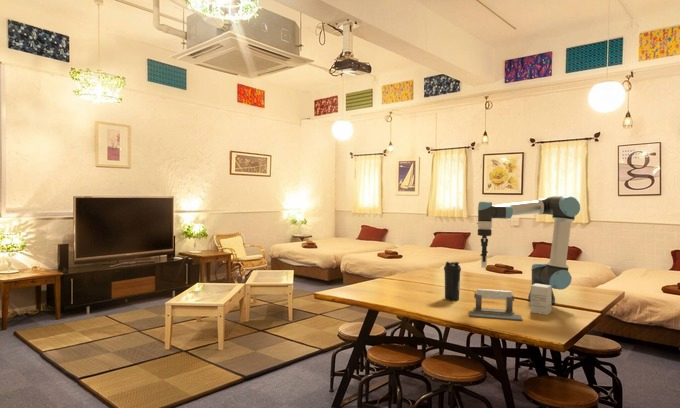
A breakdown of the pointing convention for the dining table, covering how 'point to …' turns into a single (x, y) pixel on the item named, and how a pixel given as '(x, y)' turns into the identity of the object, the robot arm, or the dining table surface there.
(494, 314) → the mat
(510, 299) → the rack
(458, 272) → the water bottle
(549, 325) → the dining table surface
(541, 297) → the supplement box
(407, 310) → the dining table surface
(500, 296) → the rail
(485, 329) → the dining table surface
